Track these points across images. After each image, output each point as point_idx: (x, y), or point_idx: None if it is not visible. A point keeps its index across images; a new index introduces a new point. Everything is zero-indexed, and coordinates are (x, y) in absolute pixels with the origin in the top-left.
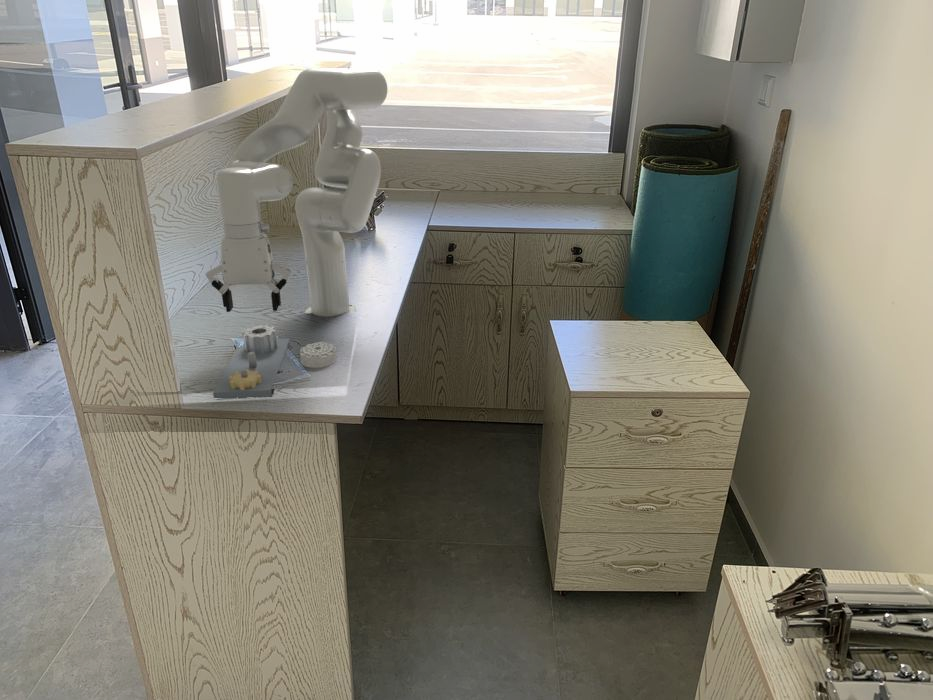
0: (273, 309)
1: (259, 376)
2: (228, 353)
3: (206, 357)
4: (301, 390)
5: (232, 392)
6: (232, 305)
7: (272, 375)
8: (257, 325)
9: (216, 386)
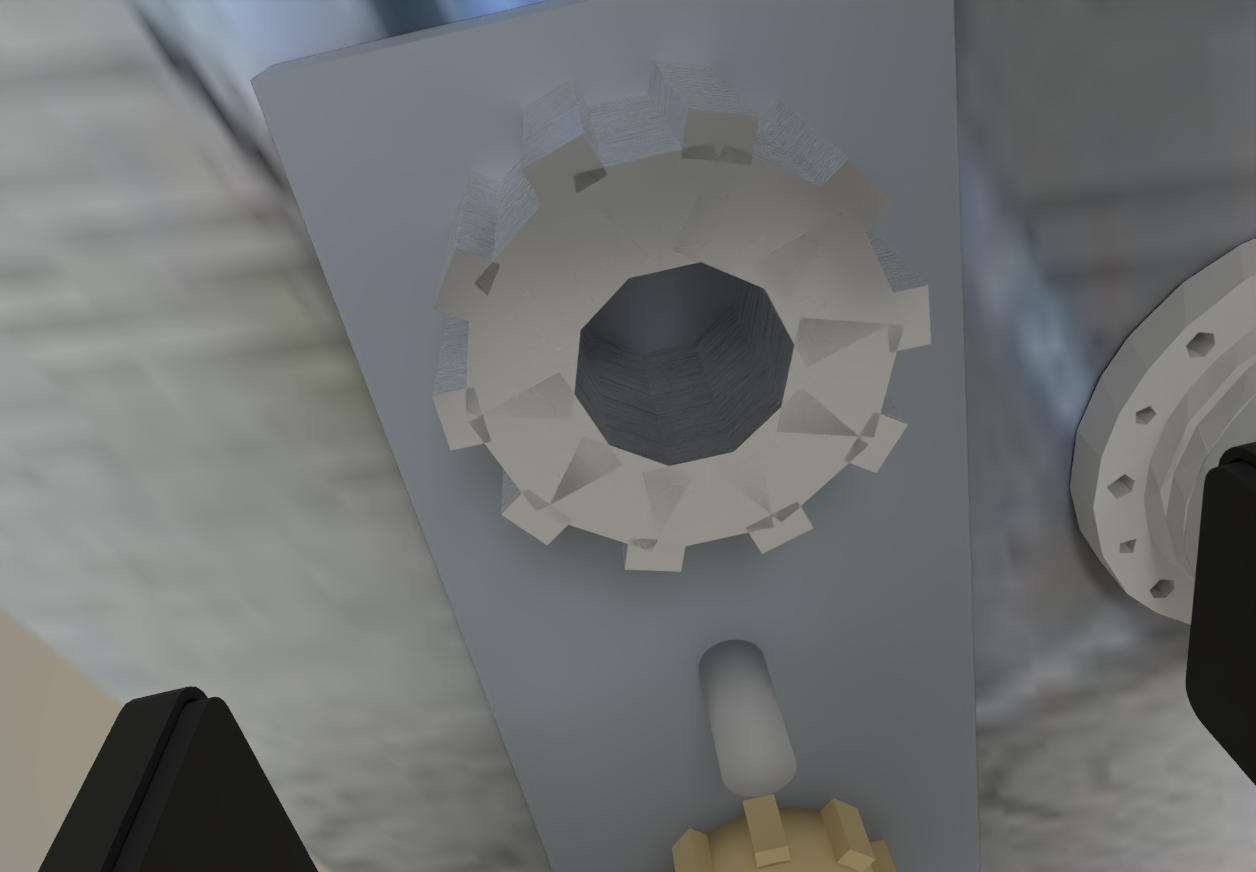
0: (1214, 719)
1: None
2: (230, 277)
3: (48, 403)
4: (1148, 773)
5: None
6: (219, 764)
7: (946, 760)
8: (562, 151)
9: None
